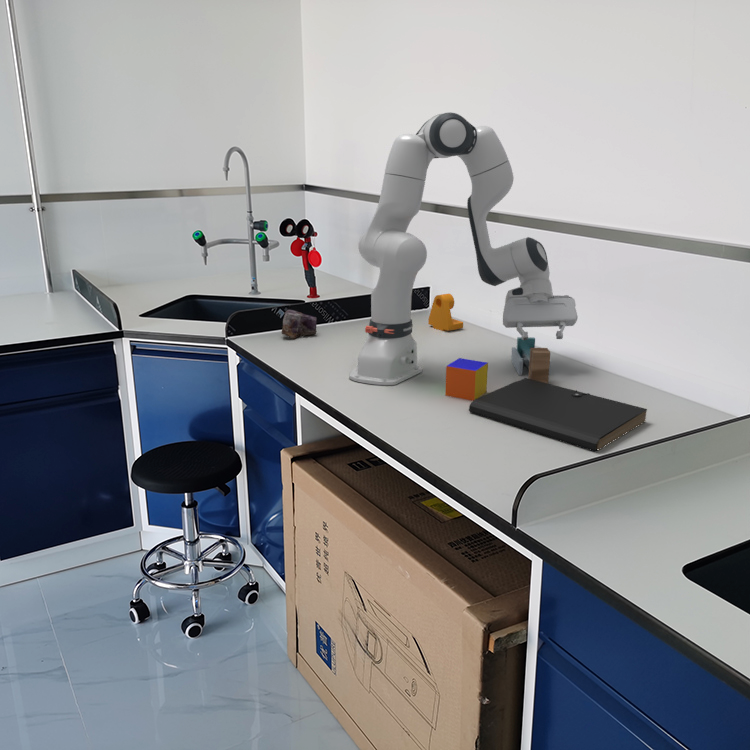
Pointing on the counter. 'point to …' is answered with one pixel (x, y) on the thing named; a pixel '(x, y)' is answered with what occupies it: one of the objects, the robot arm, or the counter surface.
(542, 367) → the walnut block
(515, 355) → the channel
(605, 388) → the counter surface
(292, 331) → the rock
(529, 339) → the teal headed mallet
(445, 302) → the bracket
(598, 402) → the black book
